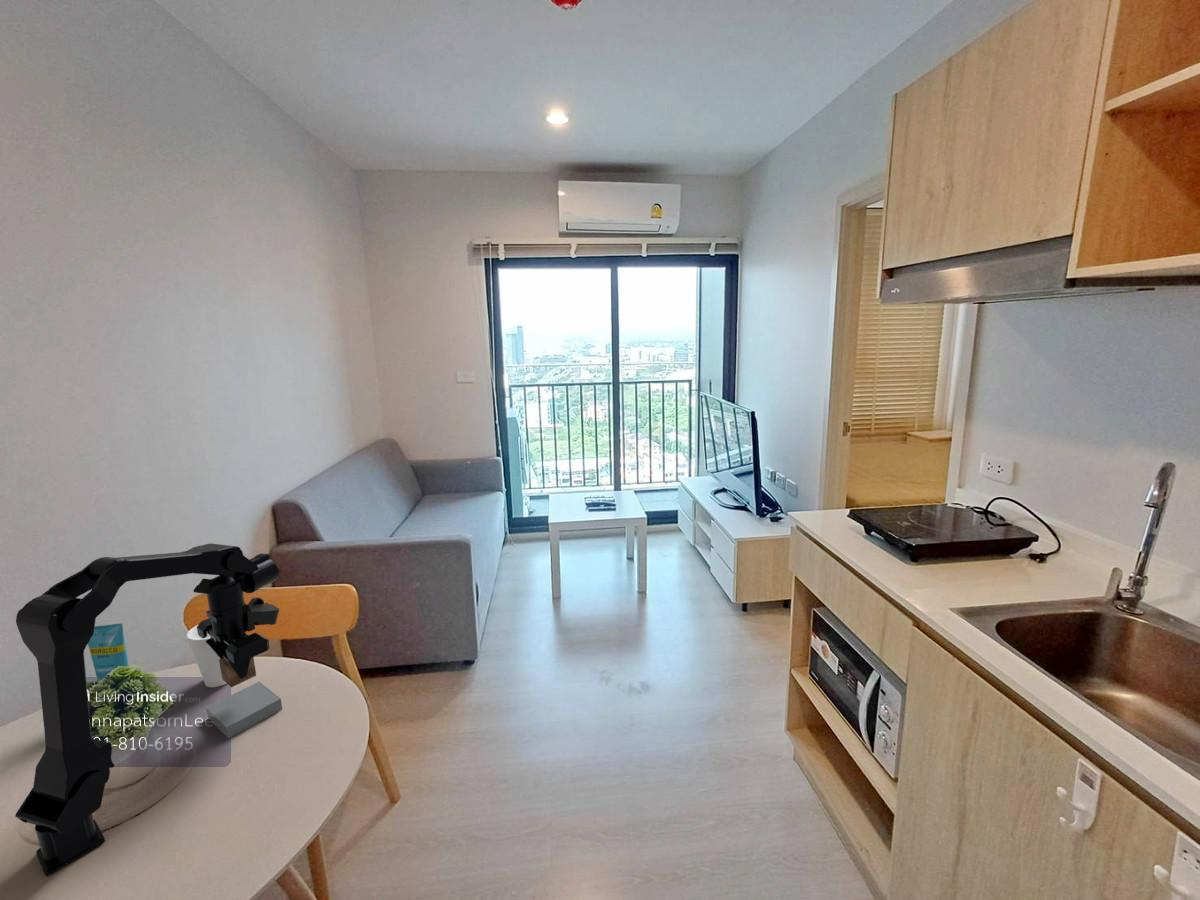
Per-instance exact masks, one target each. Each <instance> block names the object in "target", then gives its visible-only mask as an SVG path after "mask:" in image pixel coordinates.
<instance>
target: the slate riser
mask: <svg viewBox="0 0 1200 900" xmlns="http://www.w3.org/2000/svg"><path fill="white" fill-rule="evenodd" d="M205 709H206V716H207V719H208V720H210V721H209V722H211V723H212V724H213V725H214V726H215V727H216V728H217V729H218V730H219V731H220V732H221V733H222V734H223V735H224V736H225V737H226V738H227V739H230V738H232V737H233V736H235V735H237V734H239V733H241V732H243V731H244V730H246V729H248V728H250V727H252V726H254V725H255V724H257V723H259V722H261V721H263V720H265V719H266V718H268V717H270V716H271V715H273V714H275V713H277V712H279V711H281V710H282V709H283V703H282V699H281V697H279V696H278V695H277V694H276V693H275V692H273V691H272V690H271V689H269V688H268V687H267V686H266V685H264V684H263V683H262V682H261V681H256V682H255V683H253V684H251V685H249V686H247V687H245V688H243V689H241V690H239V691H237V692H234V693H233V694H231V695H229V696H227V697H225V698H223V699H221V700H219V701H216V702H215V703H212V704H210V705H208V706H207V707H205Z"/></svg>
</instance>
